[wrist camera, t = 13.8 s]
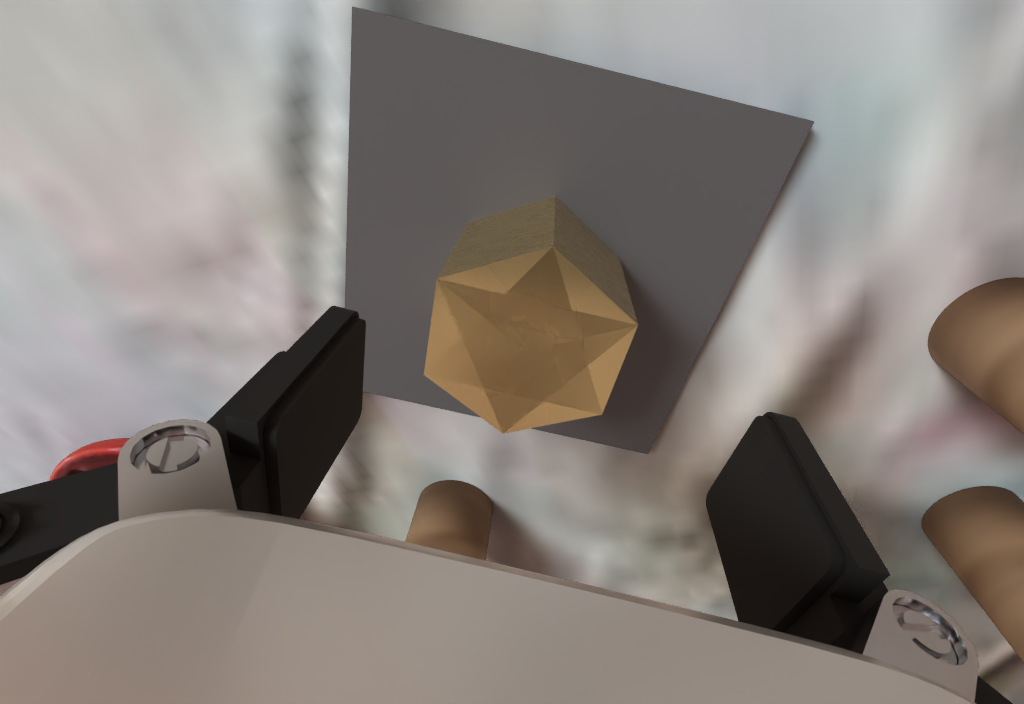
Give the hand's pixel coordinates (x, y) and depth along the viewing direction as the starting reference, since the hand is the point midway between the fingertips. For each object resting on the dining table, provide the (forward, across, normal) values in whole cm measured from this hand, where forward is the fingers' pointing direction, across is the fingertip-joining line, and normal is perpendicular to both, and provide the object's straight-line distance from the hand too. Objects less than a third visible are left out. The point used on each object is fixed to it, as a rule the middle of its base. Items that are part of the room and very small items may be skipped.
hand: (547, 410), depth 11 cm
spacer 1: (+8, +2, +14) cm, 16 cm away
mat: (+8, +1, 0) cm, 8 cm away
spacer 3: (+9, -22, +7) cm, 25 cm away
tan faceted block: (+7, +1, 0) cm, 8 cm away
